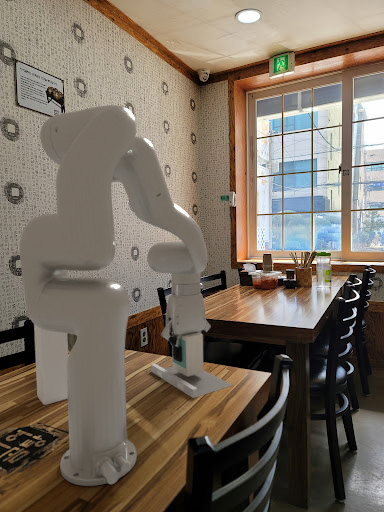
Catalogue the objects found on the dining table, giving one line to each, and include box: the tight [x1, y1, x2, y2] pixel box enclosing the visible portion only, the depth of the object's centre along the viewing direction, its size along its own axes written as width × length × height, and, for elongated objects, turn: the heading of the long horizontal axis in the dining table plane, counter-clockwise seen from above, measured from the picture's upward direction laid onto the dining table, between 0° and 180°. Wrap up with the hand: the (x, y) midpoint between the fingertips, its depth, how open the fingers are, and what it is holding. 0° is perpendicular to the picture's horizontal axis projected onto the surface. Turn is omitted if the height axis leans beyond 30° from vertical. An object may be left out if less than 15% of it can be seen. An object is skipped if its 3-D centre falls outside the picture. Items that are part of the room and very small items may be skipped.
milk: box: [33, 323, 69, 406], centre depth 88 cm, size 6×6×22 cm
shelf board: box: [150, 363, 234, 399], centre depth 95 cm, size 20×12×4 cm, turn 34°
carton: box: [171, 332, 204, 377], centre depth 97 cm, size 7×5×10 cm
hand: (187, 357), depth 97 cm, fingers closed on carton, 5 cm apart
